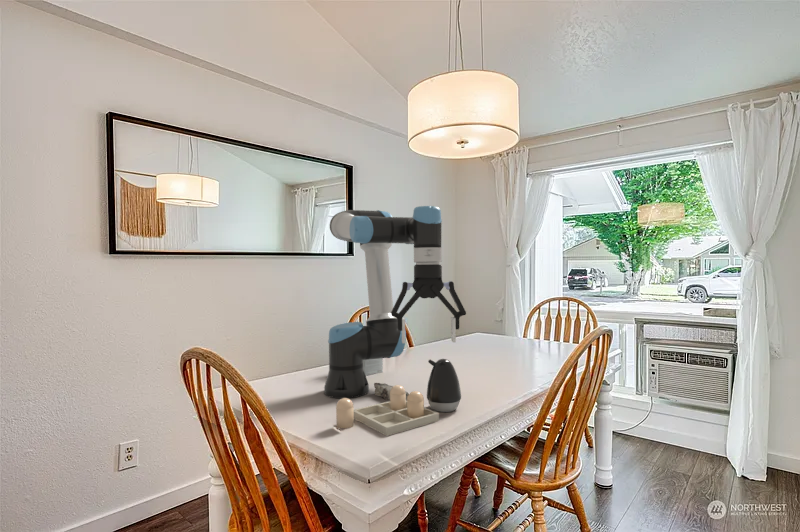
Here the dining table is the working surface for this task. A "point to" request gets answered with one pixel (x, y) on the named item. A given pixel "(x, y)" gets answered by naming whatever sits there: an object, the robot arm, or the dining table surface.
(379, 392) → the mineral rock
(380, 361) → the supplement box
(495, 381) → the dining table surface
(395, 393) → the beige domed cylinder
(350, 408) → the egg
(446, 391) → the pump dispenser
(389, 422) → the egg tray
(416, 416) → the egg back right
